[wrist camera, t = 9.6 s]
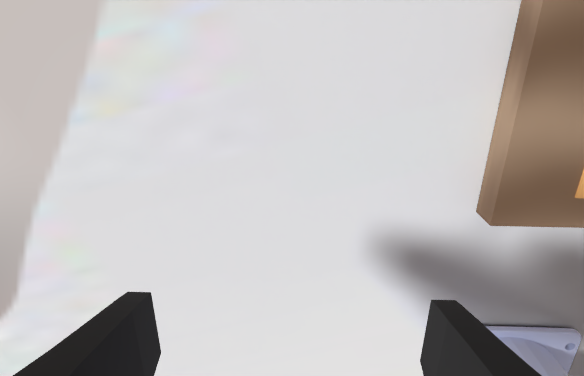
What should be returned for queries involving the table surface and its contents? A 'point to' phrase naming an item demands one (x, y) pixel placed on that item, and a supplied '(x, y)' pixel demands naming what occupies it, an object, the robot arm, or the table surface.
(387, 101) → the table surface
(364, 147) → the table surface
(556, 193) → the board
